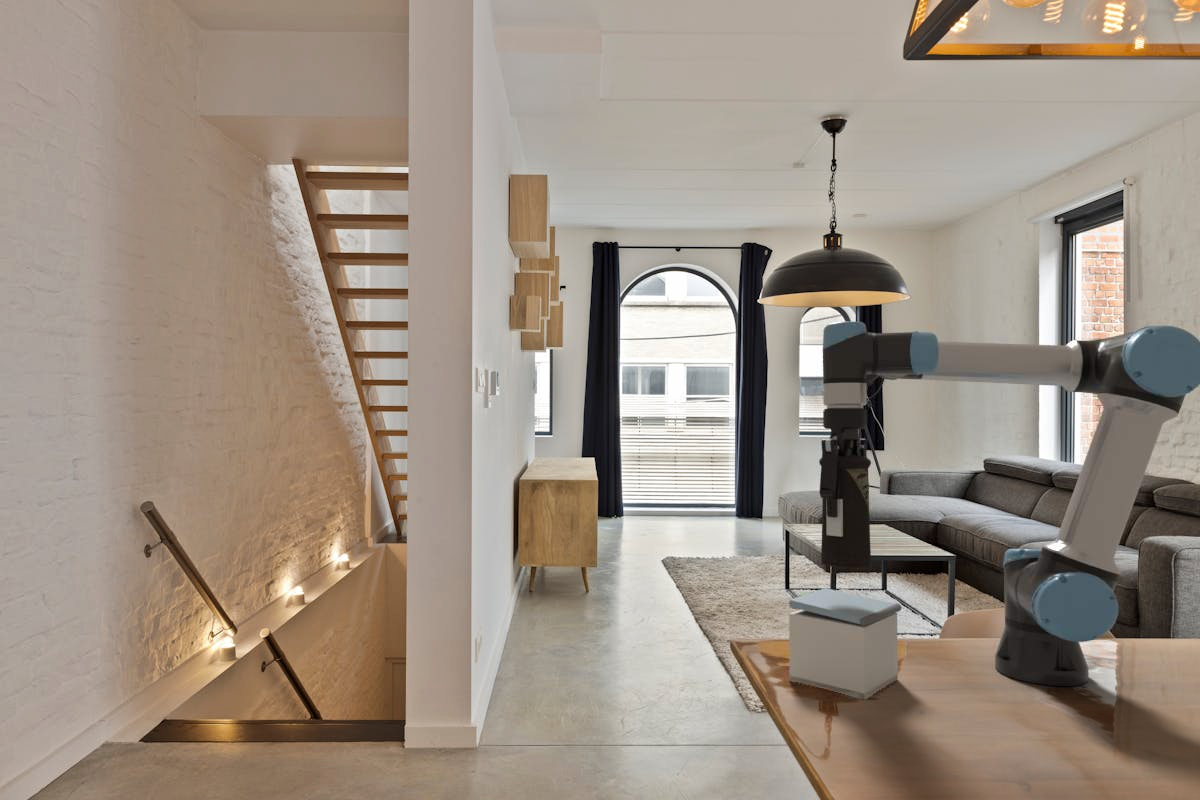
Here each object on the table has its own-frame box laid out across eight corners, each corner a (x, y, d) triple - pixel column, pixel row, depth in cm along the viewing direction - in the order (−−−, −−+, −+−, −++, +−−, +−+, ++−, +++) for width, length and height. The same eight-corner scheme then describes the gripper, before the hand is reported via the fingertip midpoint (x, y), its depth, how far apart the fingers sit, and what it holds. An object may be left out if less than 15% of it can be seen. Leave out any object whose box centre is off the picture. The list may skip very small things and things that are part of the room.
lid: (788, 607, 139) (789, 599, 139) (825, 594, 150) (825, 587, 150) (867, 627, 129) (868, 618, 129) (901, 612, 140) (901, 604, 140)
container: (875, 570, 135) (874, 455, 135) (821, 568, 136) (821, 454, 137) (868, 561, 143) (867, 453, 144) (817, 559, 145) (817, 452, 146)
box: (897, 679, 140) (897, 613, 140) (864, 699, 130) (864, 627, 130) (825, 663, 149) (825, 600, 150) (789, 680, 139) (789, 613, 139)
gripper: (849, 408, 151) (850, 525, 150) (798, 406, 136) (798, 537, 135) (887, 408, 146) (888, 529, 145) (838, 405, 131) (839, 541, 130)
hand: (845, 533), depth 140 cm, fingers closed on container, 8 cm apart
